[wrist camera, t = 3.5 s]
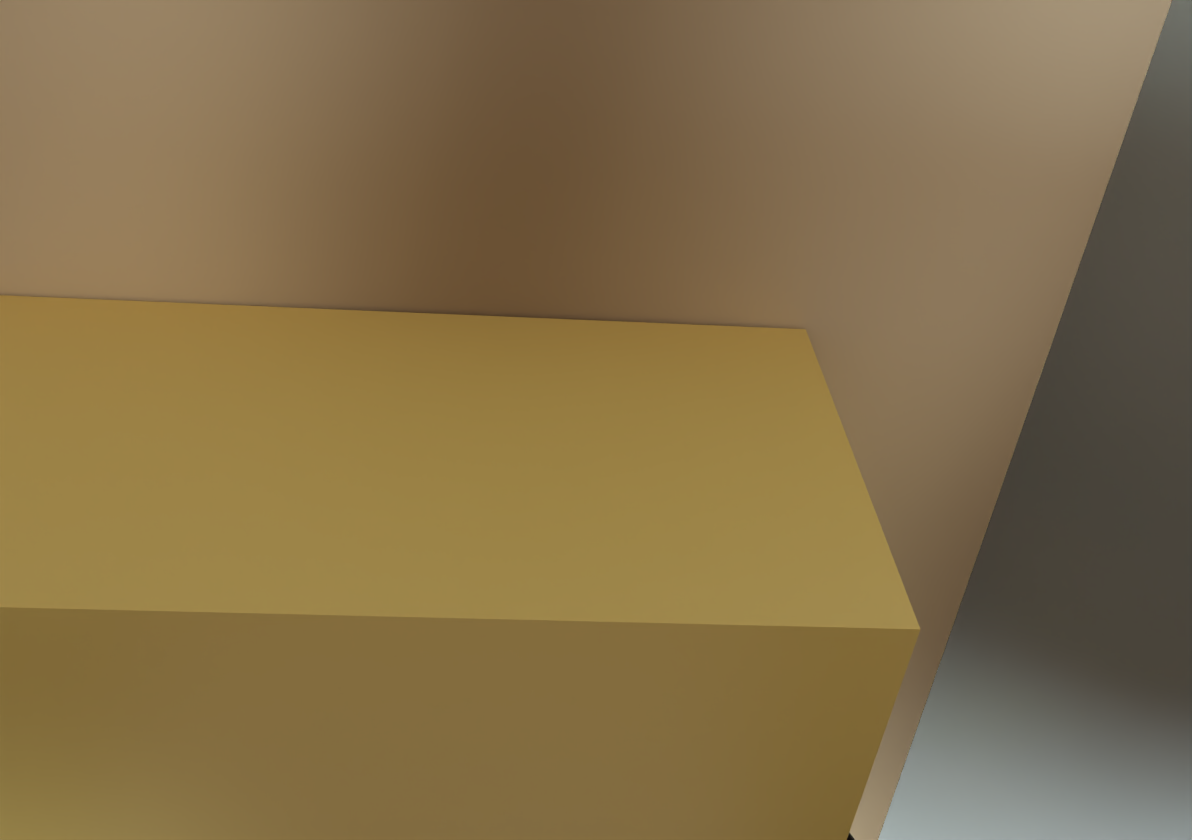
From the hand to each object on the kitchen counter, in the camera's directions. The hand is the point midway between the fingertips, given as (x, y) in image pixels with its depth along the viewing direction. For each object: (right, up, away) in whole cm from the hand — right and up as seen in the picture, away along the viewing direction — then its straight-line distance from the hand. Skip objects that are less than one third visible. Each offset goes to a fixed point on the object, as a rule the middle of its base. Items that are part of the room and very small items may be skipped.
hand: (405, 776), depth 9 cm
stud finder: (0, +1, +1) cm, 1 cm away
